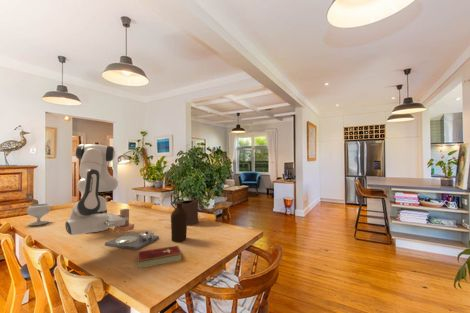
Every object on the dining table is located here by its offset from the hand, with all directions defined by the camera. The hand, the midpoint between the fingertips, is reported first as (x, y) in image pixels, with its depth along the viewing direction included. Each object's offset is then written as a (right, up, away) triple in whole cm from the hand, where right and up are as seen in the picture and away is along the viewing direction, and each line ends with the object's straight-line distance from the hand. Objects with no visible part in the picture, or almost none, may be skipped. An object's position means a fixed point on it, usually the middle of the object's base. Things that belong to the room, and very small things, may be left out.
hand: (126, 217), depth 134 cm
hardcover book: (+28, -17, -21) cm, 39 cm away
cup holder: (+26, -18, +46) cm, 56 cm away
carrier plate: (+3, -16, +3) cm, 17 cm away
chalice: (-91, -17, +40) cm, 101 cm away
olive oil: (+31, -17, +7) cm, 36 cm away
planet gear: (-1, -7, -1) cm, 7 cm away
